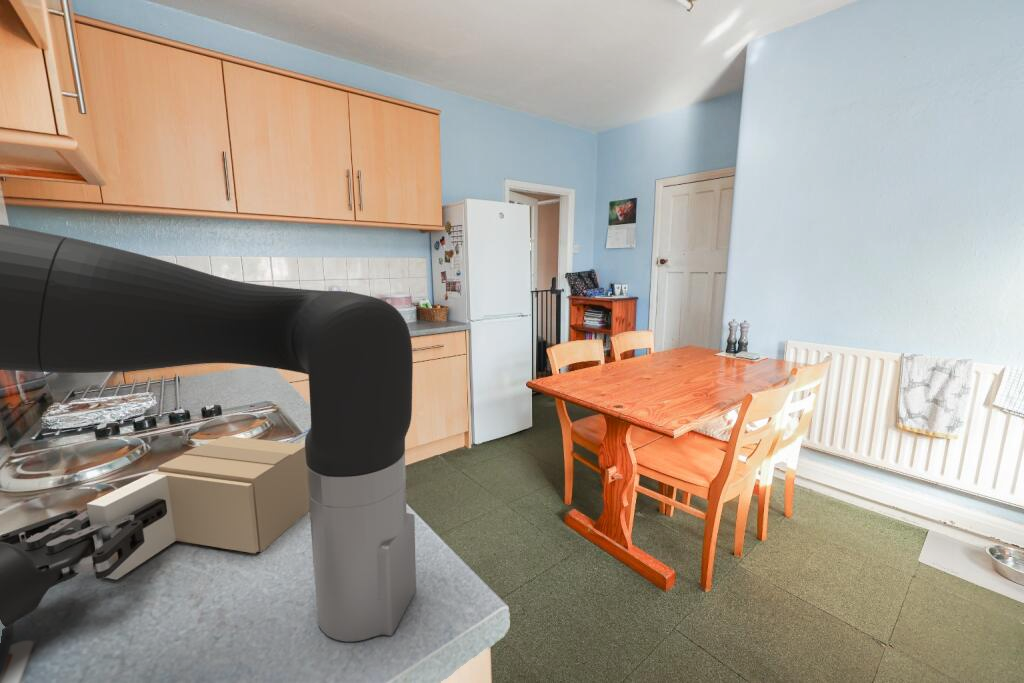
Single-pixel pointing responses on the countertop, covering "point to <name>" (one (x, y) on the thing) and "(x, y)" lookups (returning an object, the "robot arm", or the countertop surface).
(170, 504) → the carton flap
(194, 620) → the countertop surface
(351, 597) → the robot arm
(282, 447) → the kraft carton
